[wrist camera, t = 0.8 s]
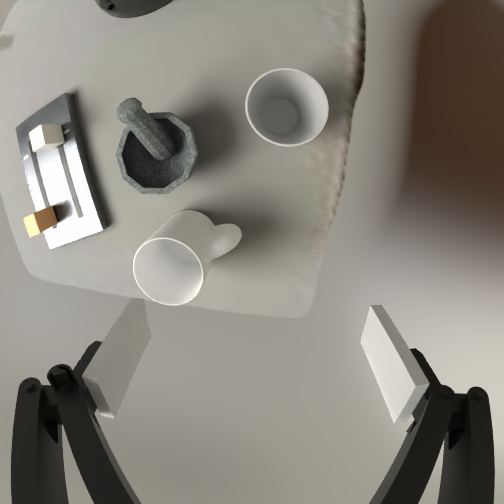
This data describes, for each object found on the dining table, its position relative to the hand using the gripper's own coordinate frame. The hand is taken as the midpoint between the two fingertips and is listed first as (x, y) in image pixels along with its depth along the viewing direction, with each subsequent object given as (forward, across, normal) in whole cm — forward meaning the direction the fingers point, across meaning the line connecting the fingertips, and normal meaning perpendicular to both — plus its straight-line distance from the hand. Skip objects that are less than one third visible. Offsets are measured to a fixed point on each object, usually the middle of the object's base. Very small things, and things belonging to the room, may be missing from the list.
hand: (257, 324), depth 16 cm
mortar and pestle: (+26, -12, +9) cm, 30 cm away
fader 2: (+23, -32, 0) cm, 39 cm away
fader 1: (+23, -29, +12) cm, 39 cm away
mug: (+25, -7, -3) cm, 27 cm away
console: (+25, -31, +7) cm, 40 cm away
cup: (+26, +3, +13) cm, 29 cm away
